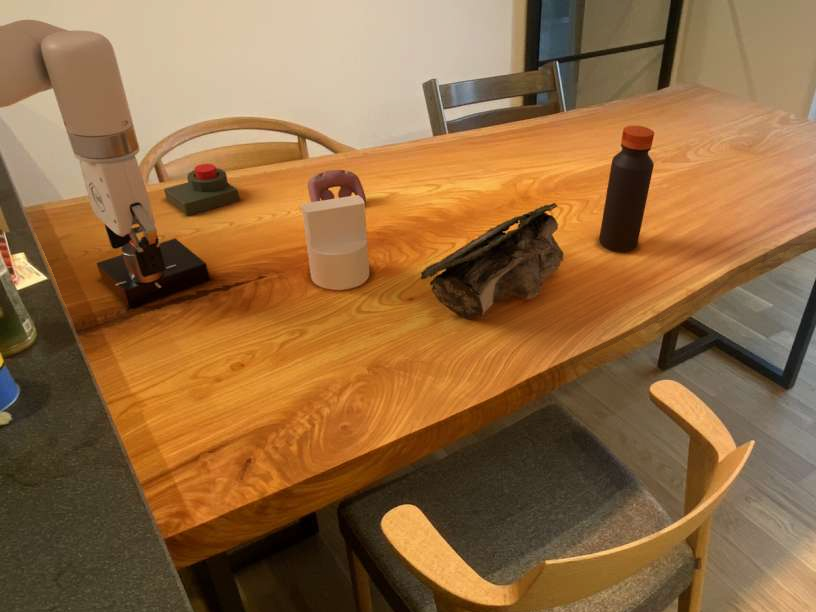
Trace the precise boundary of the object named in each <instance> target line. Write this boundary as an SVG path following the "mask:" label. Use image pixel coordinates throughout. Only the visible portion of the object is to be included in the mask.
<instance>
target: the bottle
mask: <svg viewBox="0 0 816 612" xmlns="http://www.w3.org/2000/svg"><path fill="white" fill-rule="evenodd" d="M654 136H655V131H654V130H653V129H651V128H649V127H647V126H643V125H628V126H625V127H623V129H622V135H621V140H620V147H621V150H620V151H619V152H618V153H617V154H615V155H614V156H613V157H612V160H611V164H610V169H609V170H610V171H609V177H608V181H607V182H608V183H607V190H606V194H605V195H606V196H605V201H604V202H605V203H604V207H603V214H602V219H601V224H600V231H599V238H598V242H599V244H600V245H601V246H602V247H603V248H604V249H606V250H608V251H611V252H616V253H628V252H632V251H634V250H635V249H637V248H638V243H639V239H640V235H641V234H640V233H641V230H642V225H643V220H644V215H645V210H646V206H647V205H646V204H647V199H648V195H649V190H650V187H651V186H650V185H651V181H652V177H653V172H654V167H655V166H654V165H655V164H654V161H653V159H652V158H651V156H650V155H649V152H650V151H651V150H652V147H653V142H654Z"/></svg>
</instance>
